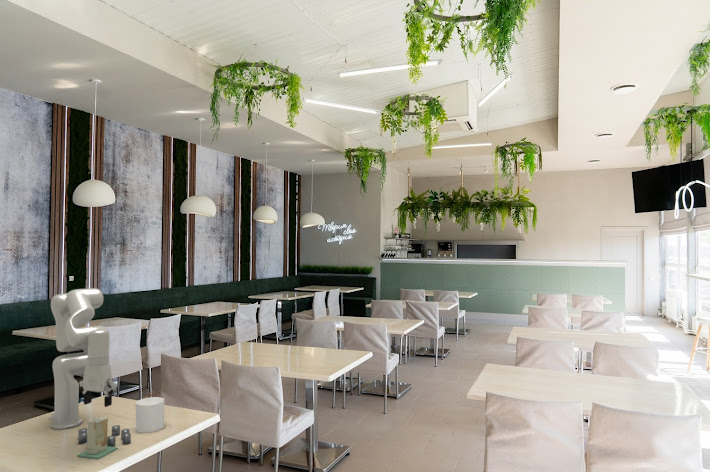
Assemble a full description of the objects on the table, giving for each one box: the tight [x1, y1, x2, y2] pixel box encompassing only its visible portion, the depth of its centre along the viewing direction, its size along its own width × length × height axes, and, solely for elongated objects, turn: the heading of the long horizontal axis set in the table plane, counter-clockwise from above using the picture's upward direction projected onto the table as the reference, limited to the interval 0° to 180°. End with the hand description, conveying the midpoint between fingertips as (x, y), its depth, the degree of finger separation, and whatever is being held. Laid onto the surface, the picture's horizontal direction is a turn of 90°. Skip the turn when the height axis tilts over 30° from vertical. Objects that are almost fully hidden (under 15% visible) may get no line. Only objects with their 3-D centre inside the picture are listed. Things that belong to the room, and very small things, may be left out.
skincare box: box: [86, 416, 109, 454], centre depth 192 cm, size 6×4×12 cm
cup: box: [135, 396, 165, 434], centre depth 218 cm, size 12×12×12 cm
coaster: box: [76, 446, 119, 460], centre depth 192 cm, size 10×10×1 cm
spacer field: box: [78, 424, 132, 447], centre depth 204 cm, size 25×16×4 cm, turn 74°
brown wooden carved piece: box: [142, 390, 157, 399], centre depth 233 cm, size 9×4×12 cm, turn 122°
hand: (97, 404), depth 192 cm, fingers open, 9 cm apart
